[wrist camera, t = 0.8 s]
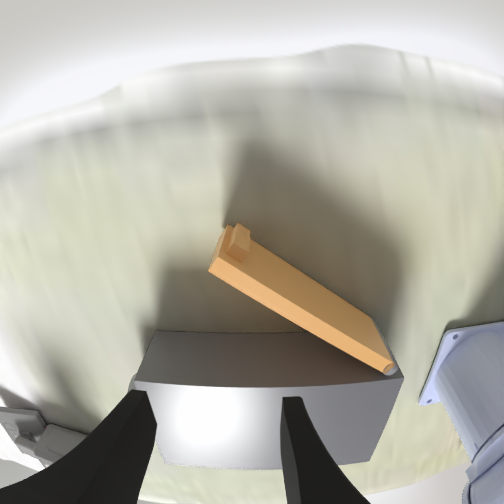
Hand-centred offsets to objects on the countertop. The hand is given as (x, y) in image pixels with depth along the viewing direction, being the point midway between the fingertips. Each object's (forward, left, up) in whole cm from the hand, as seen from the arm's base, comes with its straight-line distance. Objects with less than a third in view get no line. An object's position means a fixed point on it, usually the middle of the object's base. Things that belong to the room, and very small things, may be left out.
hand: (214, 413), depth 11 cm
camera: (+21, +19, -10) cm, 30 cm away
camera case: (-2, +7, -9) cm, 12 cm away
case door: (-5, -1, -9) cm, 10 cm away
